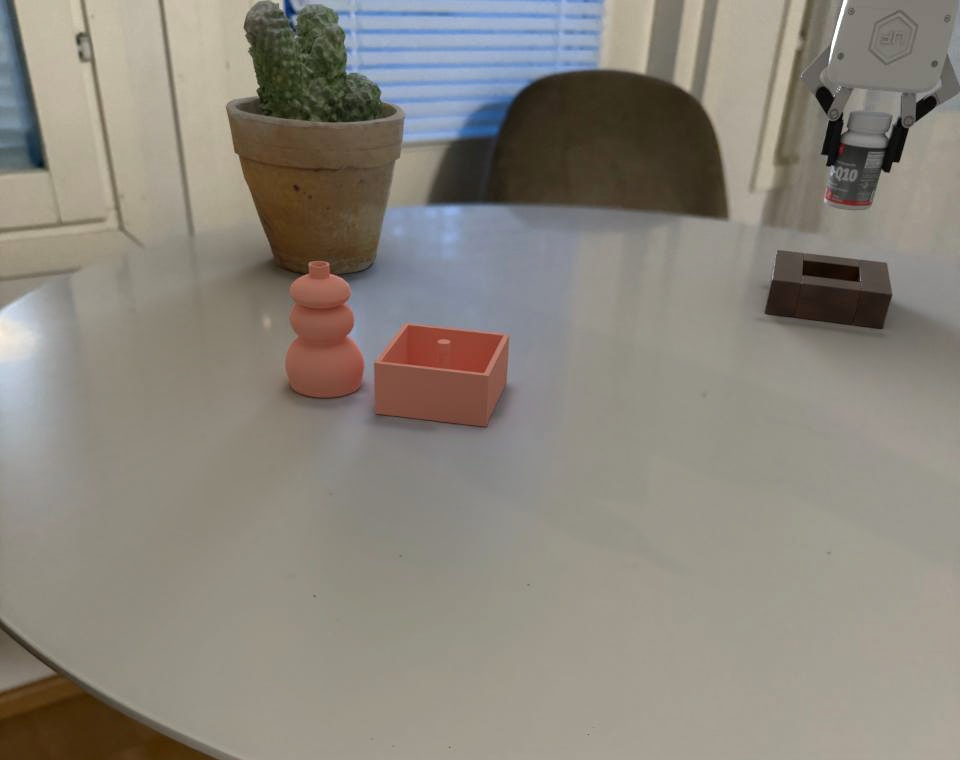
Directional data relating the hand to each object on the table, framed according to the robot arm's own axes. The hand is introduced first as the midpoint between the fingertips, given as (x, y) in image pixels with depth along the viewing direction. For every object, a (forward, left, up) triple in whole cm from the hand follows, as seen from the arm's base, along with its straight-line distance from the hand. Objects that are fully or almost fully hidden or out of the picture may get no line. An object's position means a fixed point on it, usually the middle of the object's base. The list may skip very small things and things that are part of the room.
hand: (857, 164), depth 95 cm
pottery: (+35, +40, -14) cm, 55 cm away
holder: (0, 0, -14) cm, 14 cm away
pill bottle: (0, 0, -4) cm, 4 cm away
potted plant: (+55, +8, -14) cm, 57 cm away
